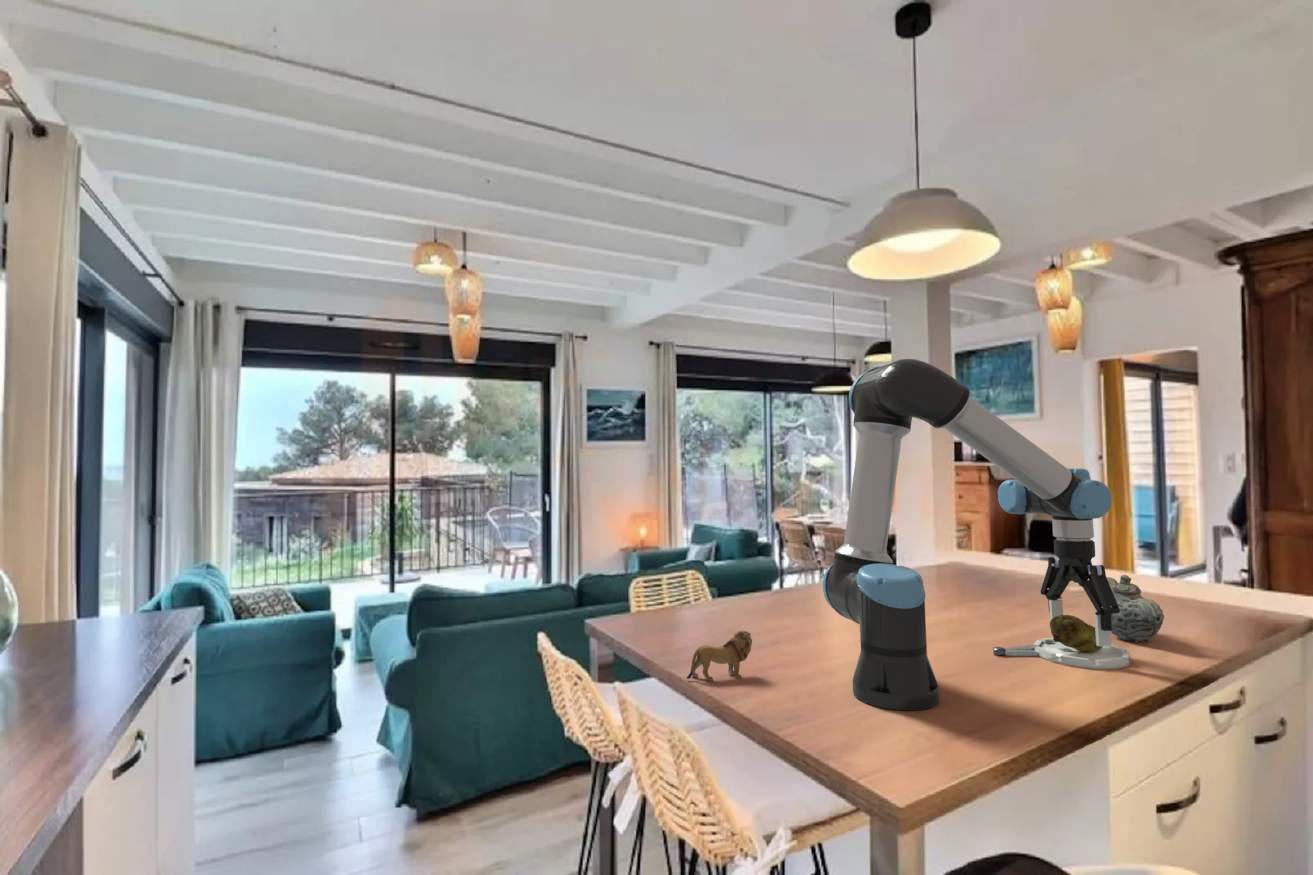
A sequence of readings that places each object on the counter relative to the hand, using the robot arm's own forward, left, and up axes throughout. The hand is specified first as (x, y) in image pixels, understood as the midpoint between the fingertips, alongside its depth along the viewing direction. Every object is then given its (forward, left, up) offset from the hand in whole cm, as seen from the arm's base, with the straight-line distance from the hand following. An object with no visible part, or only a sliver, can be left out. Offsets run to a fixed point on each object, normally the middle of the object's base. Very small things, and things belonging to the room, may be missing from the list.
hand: (1079, 637), depth 137 cm
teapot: (+21, +11, -4) cm, 24 cm away
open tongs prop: (-9, +4, -4) cm, 11 cm away
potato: (0, 0, -3) cm, 3 cm away
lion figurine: (-79, 0, -4) cm, 79 cm away
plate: (0, 0, -4) cm, 4 cm away
